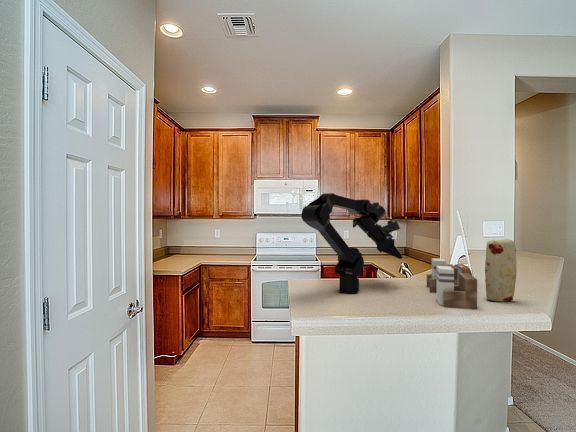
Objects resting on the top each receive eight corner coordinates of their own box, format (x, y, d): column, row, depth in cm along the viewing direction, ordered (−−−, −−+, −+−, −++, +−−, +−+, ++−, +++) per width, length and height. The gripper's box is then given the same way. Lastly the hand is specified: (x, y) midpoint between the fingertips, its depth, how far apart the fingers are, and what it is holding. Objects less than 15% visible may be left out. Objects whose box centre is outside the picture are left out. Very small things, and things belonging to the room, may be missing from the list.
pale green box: (433, 291, 118) (433, 260, 117) (431, 287, 123) (431, 258, 123) (446, 292, 116) (446, 261, 116) (443, 288, 122) (443, 258, 122)
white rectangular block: (439, 305, 101) (439, 269, 101) (436, 299, 107) (436, 265, 107) (454, 306, 100) (454, 269, 100) (450, 300, 106) (450, 266, 106)
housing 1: (430, 293, 116) (430, 267, 116) (426, 287, 126) (426, 263, 125) (457, 295, 114) (457, 268, 114) (452, 288, 123) (452, 264, 123)
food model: (494, 304, 102) (494, 239, 102) (478, 298, 109) (479, 238, 108) (522, 303, 103) (522, 239, 103) (505, 297, 110) (505, 237, 110)
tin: (474, 292, 117) (474, 268, 117) (464, 292, 118) (464, 268, 118) (460, 283, 132) (460, 262, 132) (452, 283, 133) (452, 262, 132)
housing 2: (444, 308, 99) (444, 278, 99) (438, 299, 108) (438, 272, 108) (477, 310, 97) (477, 279, 96) (468, 301, 106) (468, 273, 106)
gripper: (386, 213, 115) (420, 246, 112) (387, 213, 133) (416, 241, 130) (363, 235, 118) (396, 268, 115) (367, 232, 136) (395, 260, 133)
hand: (401, 258), depth 123 cm, fingers closed
